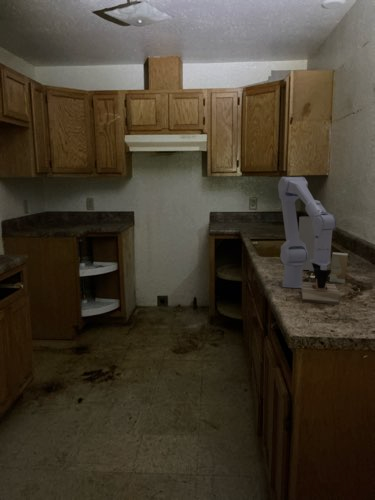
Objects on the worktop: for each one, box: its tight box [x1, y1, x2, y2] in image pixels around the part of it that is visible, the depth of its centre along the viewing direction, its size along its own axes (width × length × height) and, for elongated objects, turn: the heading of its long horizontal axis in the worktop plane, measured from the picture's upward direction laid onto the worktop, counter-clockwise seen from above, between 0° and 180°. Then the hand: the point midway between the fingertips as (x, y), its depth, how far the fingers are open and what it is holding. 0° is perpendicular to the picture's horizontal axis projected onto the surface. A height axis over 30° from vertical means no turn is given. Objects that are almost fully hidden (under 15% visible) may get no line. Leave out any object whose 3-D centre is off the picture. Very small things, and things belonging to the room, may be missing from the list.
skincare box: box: [329, 251, 349, 284], centre depth 162 cm, size 6×4×12 cm
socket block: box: [300, 281, 340, 305], centre depth 140 cm, size 12×12×4 cm
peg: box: [315, 279, 326, 290], centre depth 139 cm, size 4×4×6 cm
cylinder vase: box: [298, 216, 315, 272], centre depth 184 cm, size 12×12×25 cm
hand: (319, 285), depth 139 cm, fingers open, 7 cm apart
